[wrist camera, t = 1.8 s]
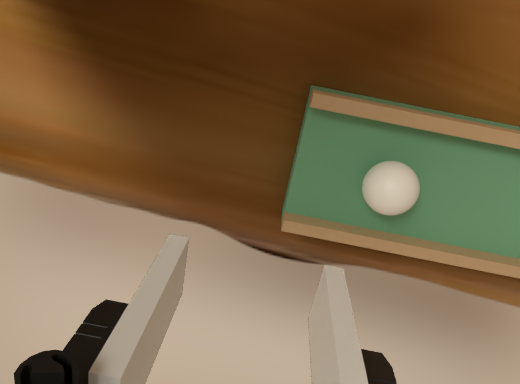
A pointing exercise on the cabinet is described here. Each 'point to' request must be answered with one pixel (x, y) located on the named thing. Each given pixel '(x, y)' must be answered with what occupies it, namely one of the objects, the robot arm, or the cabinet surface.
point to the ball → (390, 188)
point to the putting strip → (429, 175)
